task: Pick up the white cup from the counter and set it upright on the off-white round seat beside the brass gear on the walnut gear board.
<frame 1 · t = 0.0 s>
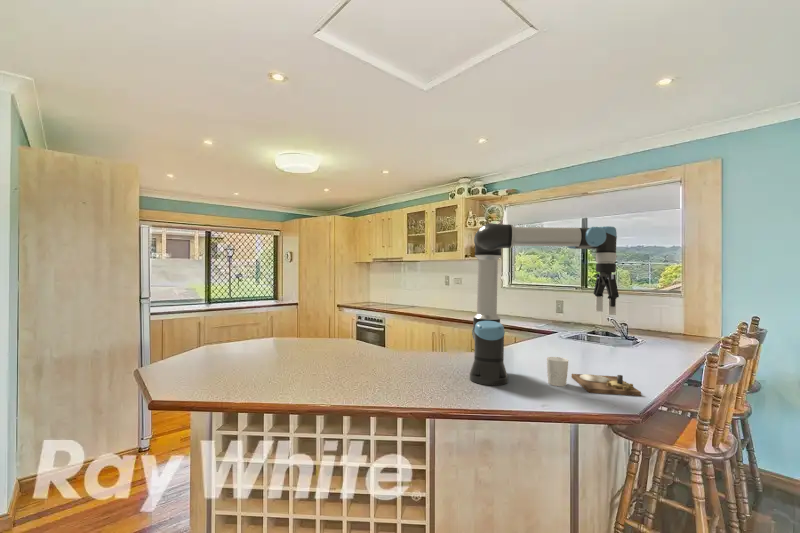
hand: (605, 313, 160), 28 cm above the table, tool pointing down, fingers open, 13 cm apart
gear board: (603, 385, 150), on the table
white cup: (557, 384, 151), on the table
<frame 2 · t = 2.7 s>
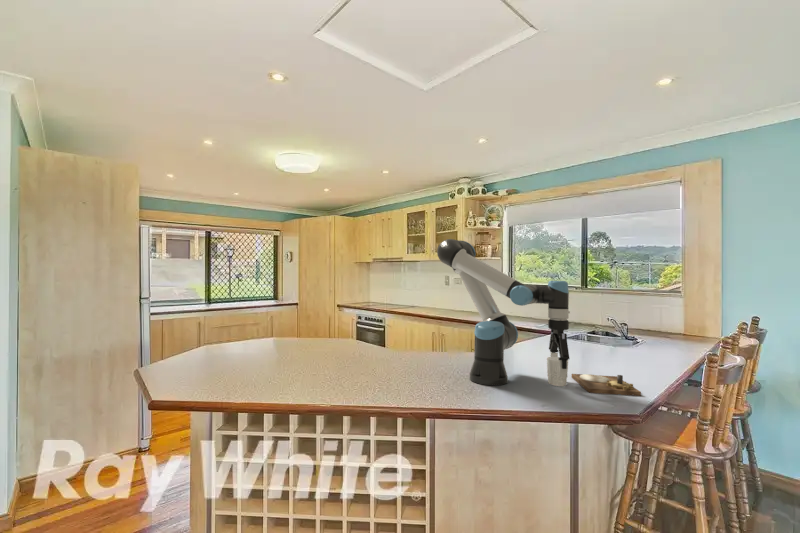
hand: (558, 372, 151), 5 cm above the table, tool pointing down, fingers open, 13 cm apart
nothing on the table moved.
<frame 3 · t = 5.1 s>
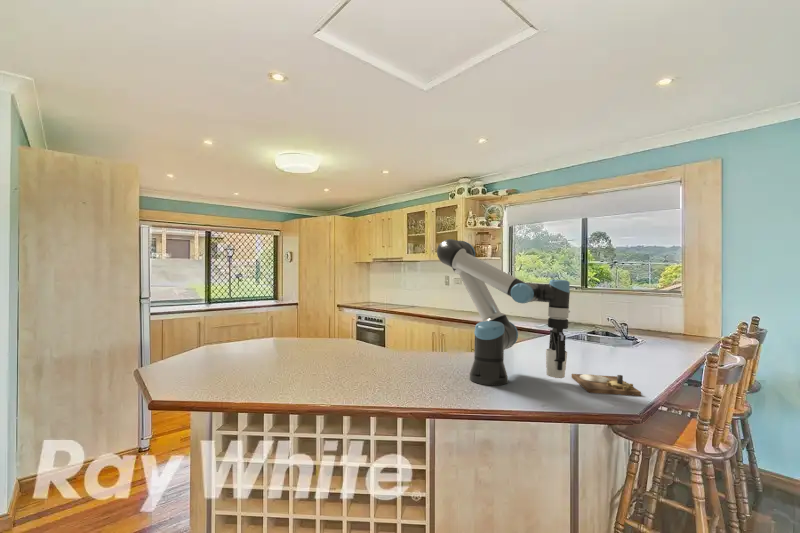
hand: (555, 374, 151), 4 cm above the table, tool pointing down, fingers closed on white cup, 7 cm apart
white cup: (555, 376, 151), point 3 cm above the table, touching gripper
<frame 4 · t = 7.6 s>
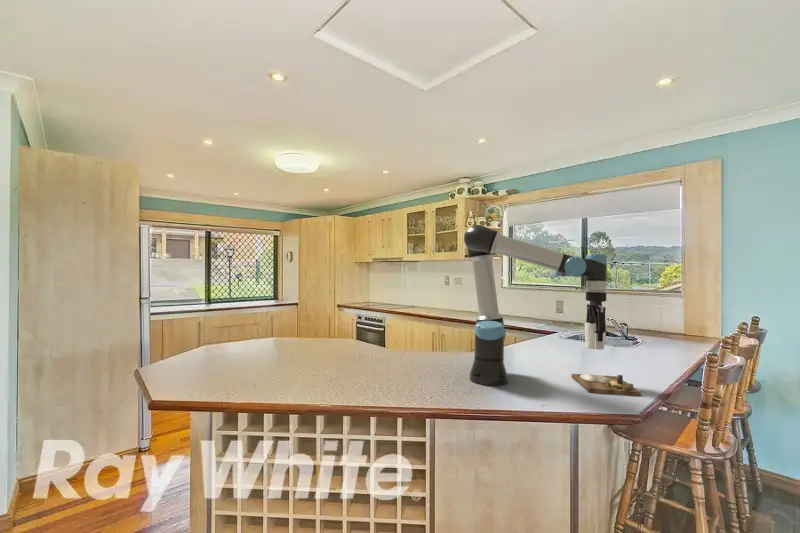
hand: (595, 347, 154), 14 cm above the table, tool pointing down, fingers closed on white cup, 7 cm apart
white cup: (594, 348, 154), point 14 cm above the table, touching gripper
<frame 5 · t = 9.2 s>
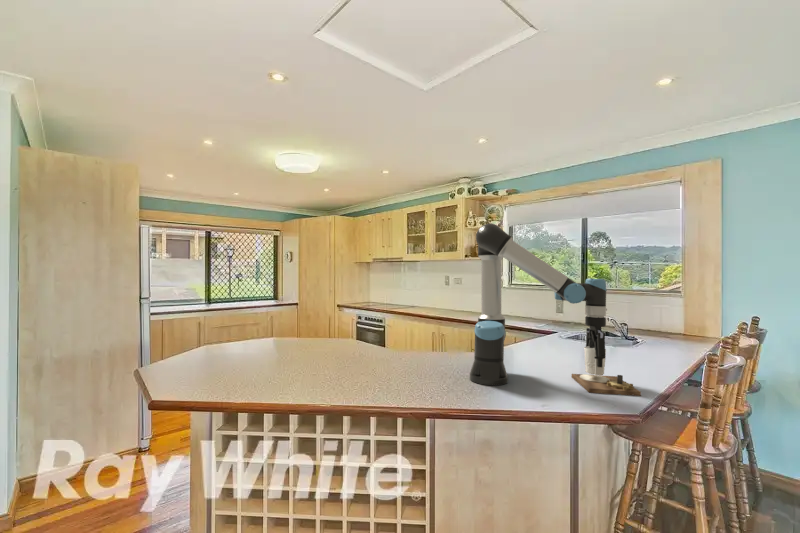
hand: (594, 372, 154), 4 cm above the table, tool pointing down, fingers closed on white cup, 7 cm apart
white cup: (594, 373, 154), point 4 cm above the table, touching gripper
when the fingers open (3 cm above the table, at t = 10.4 s): white cup stays where it is, resting on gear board.
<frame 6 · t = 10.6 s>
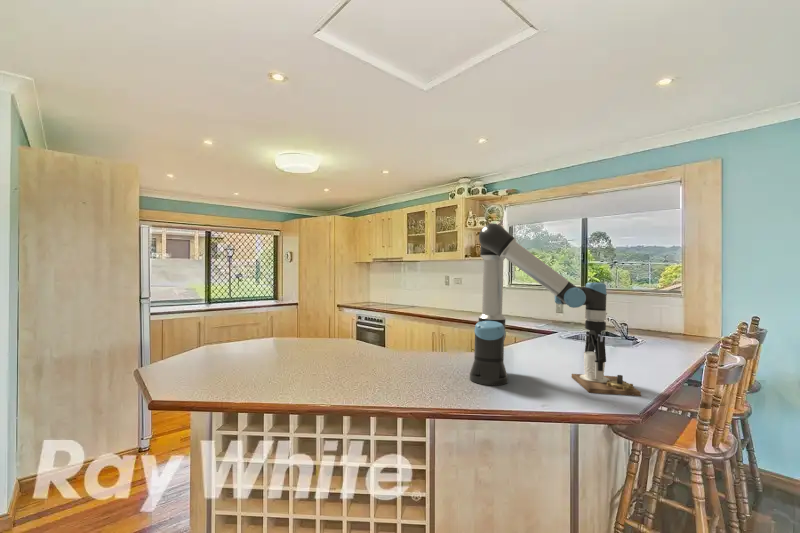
hand: (594, 375, 154), 3 cm above the table, tool pointing down, fingers open, 9 cm apart
white cup: (594, 378, 154), point 2 cm above the table, touching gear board
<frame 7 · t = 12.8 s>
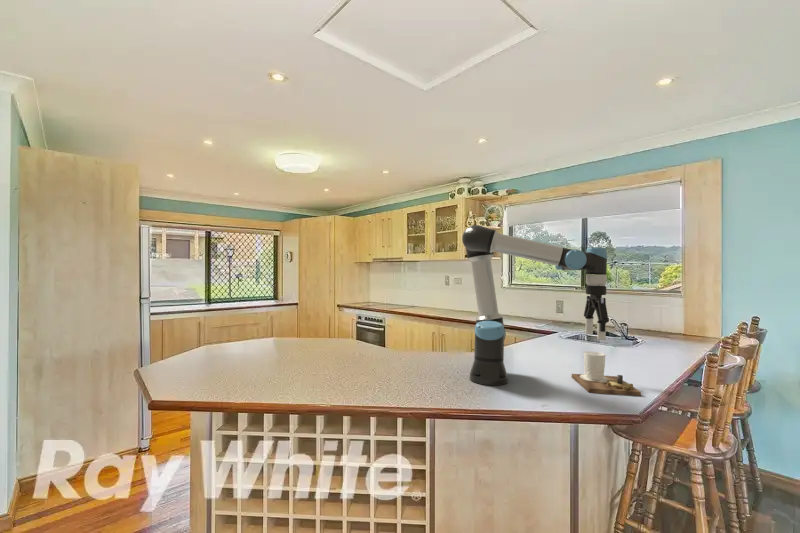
hand: (595, 337, 154), 19 cm above the table, tool pointing down, fingers open, 13 cm apart
nothing on the table moved.
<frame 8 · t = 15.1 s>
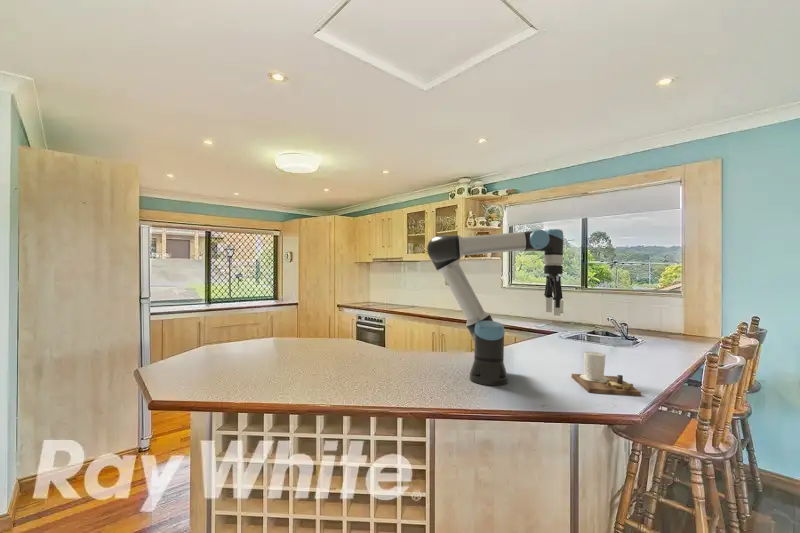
hand: (552, 313, 164), 27 cm above the table, tool pointing down, fingers open, 13 cm apart
nothing on the table moved.
at the end: white cup 0.2 cm from the target spot on the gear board, point 1.7 cm above the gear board's base; white cup tilted 0°; the gripper is holding nothing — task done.
